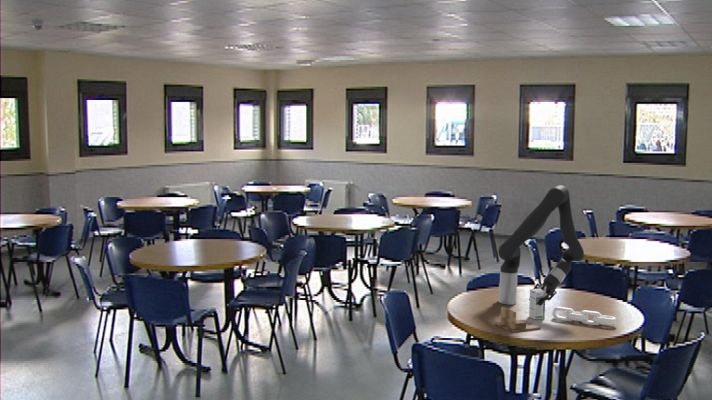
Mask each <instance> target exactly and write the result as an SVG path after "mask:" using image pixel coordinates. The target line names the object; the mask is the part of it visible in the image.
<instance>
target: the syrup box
mask: <svg viewBox="0 0 712 400" xmlns="http://www.w3.org/2000/svg"><path fill="white" fill-rule="evenodd" d="M544 292H545V290H543V289H533V288H530V289H529V298H530V301H529V303H528V304H529V306H528V307H529V308H528V309H529V311H528V316H529V317H528V318H530V317H531V319H532V318H533V320H535V319H536V320H545V319H546V318H545V316H546V314H545V312H546V301H545V302H544V303H543V304H542V305H541V306H539V305H538V302H539V300H540V299H541V298H543V295H544Z"/></svg>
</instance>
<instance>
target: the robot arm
mask: <svg viewBox="0 0 712 400" xmlns="http://www.w3.org/2000/svg"><path fill="white" fill-rule="evenodd" d="M557 208H558V212H559V214H558V215H559V229H560V233H561V234H560V235H561V237H562V241H563V243H564V244H565V245H567V246H568V247H567V248H566V249H565V250H564V251H563V252H562V255H561V257H560V259H559V261H558V262H557V263H556V265H555V266H554V267H553V268H552V269H551V270H550V271H549V272H548V274H547V275H546V276H545V277H544V279H543V282H542V283H541V284H539V283H536V284H535V286H534V287H533V288H532V289H543V290H545V292H544V295H543V298H541V299H540V300H539V302H538V305H539V306H541V305H542V304H543V303H544V302H545V303H546V302H547V301H551V300H552V299H553V298H554V297H555V295H556V294H557V293H558V292H557V289H558V287H559V286H560V285H561V283H563V281H564V279H565V278H566V276H567V275H568V274H569V273H570V271H571V270H572V267H573V266H572V263H573V262H581V261H583V260H584V257H585V252H584V248H583V247H582V244H581V242H580V241H579V239H578V235H577V232H576V227H575V225H574V224H575V223H574V220H573V214H572V209H571V197H570V191H569V189H568V188H567V187H566V186H565V185H559V184H558V185H556V186H554V187H552V188H550V189H549V190H548V192H547V193H546V195H545V196H544V197H543V199H542V200H541V202H539V204H538V205H537V206H536V207H535V208H534V209H533V210H532V211H531V212H530V213H529V214H528V215H527V216H526V218H525V219H524V220H523V221H522V222H521V223H520V225H519V226H518V227H517V228H516V229H515V231H514V232H513V233H512V234H511V235H510V236H509V237H508V238H507V240H505V241H504V242H503V243H502V244H501V245H500V246H499V248H498V256H499V258H500V259H502V260H504V261H503V263H502V264H501V265H500V268H499V270H500V273H499V274H500V275H499V284H498V292H497V293H498V296H497V302H498V303H499V304H502V305H508V306H509V305H510V306H512V305H516V304H517V296H518V294H517V292H518V276H519V275H518V273H519V272H518V271H519V268H520V265H521V264H520V263H521V248H520V247H521V246H522V245H523V244H525V243H526V242H527V241H529V240H530V239H531V238H533V237H534V236H535V235H536V234H538V232H539V231H540V230H542V228H543V226H544V225H545V223H546V222H547V220H548V218H549V217H550V215H551V214H552V213H553V212H554V210H556V209H557ZM528 301H529V302H530V297H529V299H528Z"/></svg>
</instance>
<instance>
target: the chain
mask: <svg viewBox="0 0 712 400" xmlns="http://www.w3.org/2000/svg"><path fill="white" fill-rule="evenodd" d="M558 311H560V312H565V316H561V315H558V313H557V312H558ZM551 314H552V315H551V316H552V317H553V319H554V320H557V321H565V322H572V321H573V320H575V321H580V322H581V324H584V325H585V324H587V325H593V326H599V325H601V324H602V325H609V326H611V325H612V326H613V325H616V323H617V318H616V316H612V315H606V314H604V315H603V314H601V313H600V312H599V311H594V310H587V309H583V310H582V311H575V310H574V309H573V308H571V307H564V306H555V307H554V308H553V309H552V313H551ZM589 315H590V316H592V317H593V318H592V320H589Z"/></svg>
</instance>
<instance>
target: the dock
mask: <svg viewBox="0 0 712 400" xmlns="http://www.w3.org/2000/svg"><path fill="white" fill-rule="evenodd" d="M494 324H495V326H498V327H500V328H502V329H504V330H506V331H508V332H510V333H513V334H514V333H522V332H523V333H524V332H530V331H538V330H541V326H538V325H536V324H533V323H531V322H529V321H527V320H525V319H517V312H516V311H515V310H512V309H509V308H507V307H505V306H501V307H500V319H499V322H495V323H494Z"/></svg>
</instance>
